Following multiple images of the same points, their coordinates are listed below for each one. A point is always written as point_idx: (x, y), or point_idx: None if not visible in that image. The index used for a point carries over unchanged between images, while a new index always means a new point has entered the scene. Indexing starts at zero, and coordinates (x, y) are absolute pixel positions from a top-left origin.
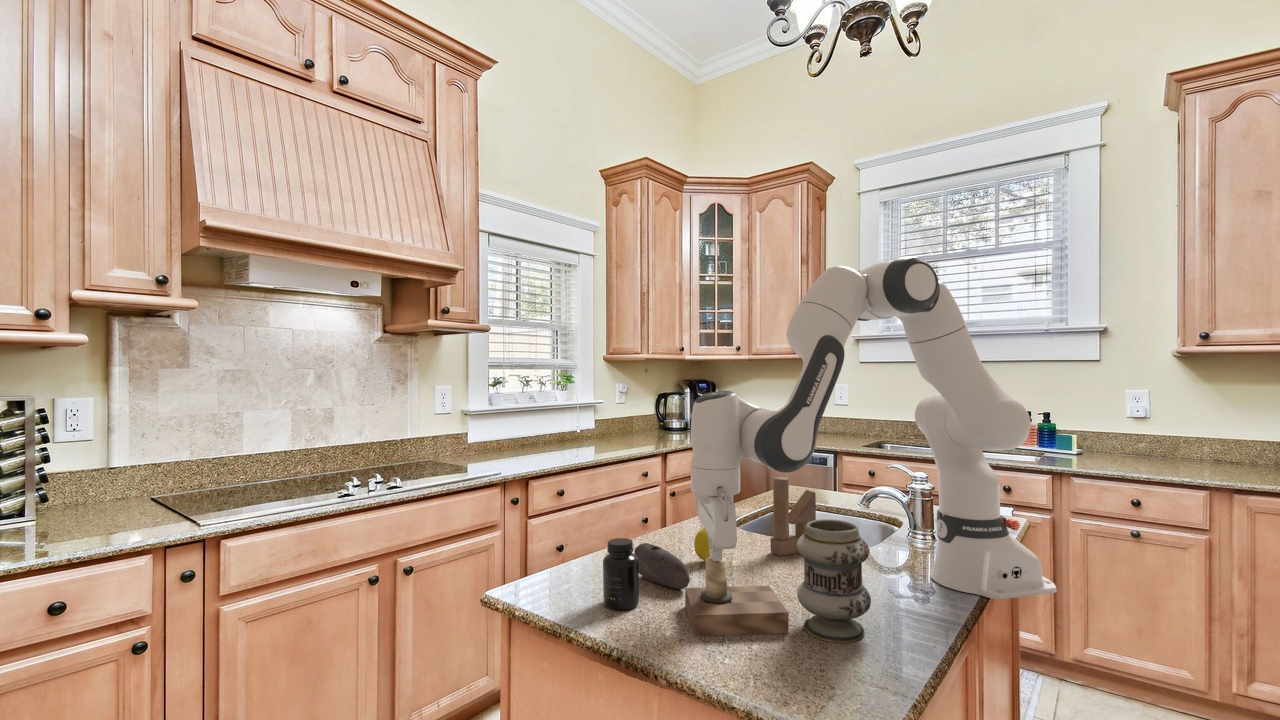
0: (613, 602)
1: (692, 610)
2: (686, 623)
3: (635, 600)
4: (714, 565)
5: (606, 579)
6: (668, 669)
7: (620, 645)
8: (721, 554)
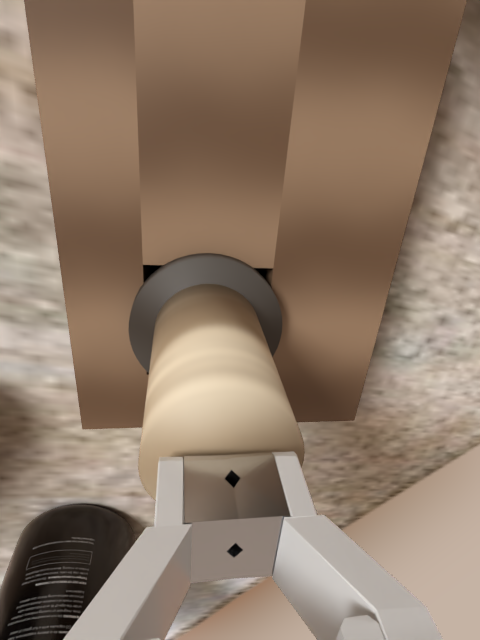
0: None
1: (306, 419)
2: None
3: (109, 529)
4: None
5: None
6: (467, 443)
7: None
8: (307, 492)
